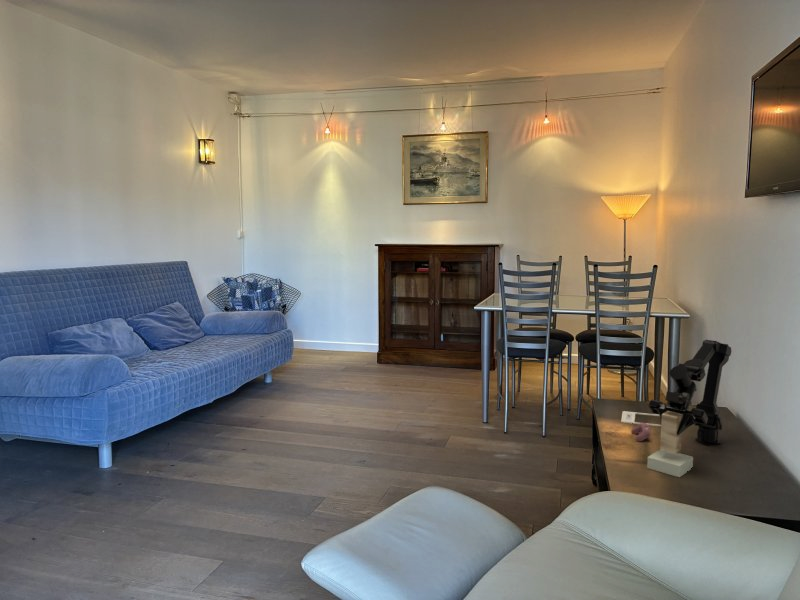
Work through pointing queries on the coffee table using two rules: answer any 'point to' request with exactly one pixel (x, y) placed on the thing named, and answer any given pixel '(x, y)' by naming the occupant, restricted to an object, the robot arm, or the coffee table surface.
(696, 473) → the coffee table surface
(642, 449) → the coffee table surface
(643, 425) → the pink lumpy piece
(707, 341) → the robot arm
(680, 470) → the white flat block
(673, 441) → the birch block
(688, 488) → the coffee table surface
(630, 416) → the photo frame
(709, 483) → the coffee table surface
